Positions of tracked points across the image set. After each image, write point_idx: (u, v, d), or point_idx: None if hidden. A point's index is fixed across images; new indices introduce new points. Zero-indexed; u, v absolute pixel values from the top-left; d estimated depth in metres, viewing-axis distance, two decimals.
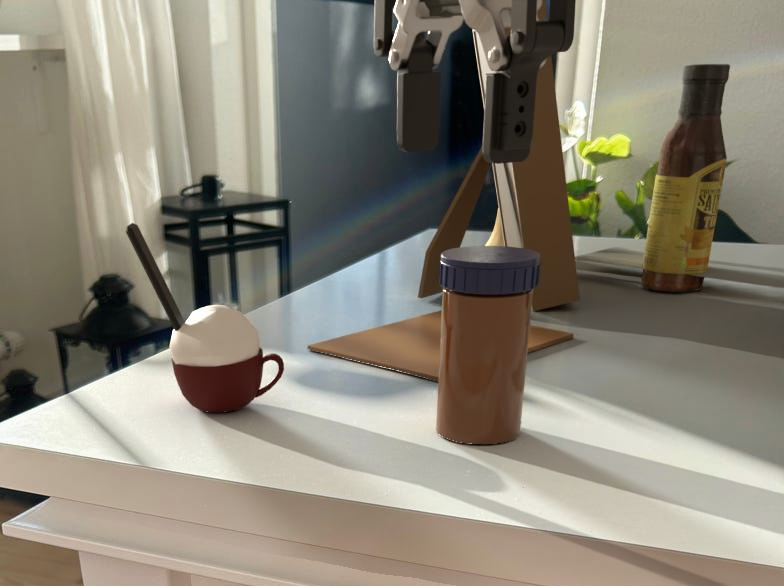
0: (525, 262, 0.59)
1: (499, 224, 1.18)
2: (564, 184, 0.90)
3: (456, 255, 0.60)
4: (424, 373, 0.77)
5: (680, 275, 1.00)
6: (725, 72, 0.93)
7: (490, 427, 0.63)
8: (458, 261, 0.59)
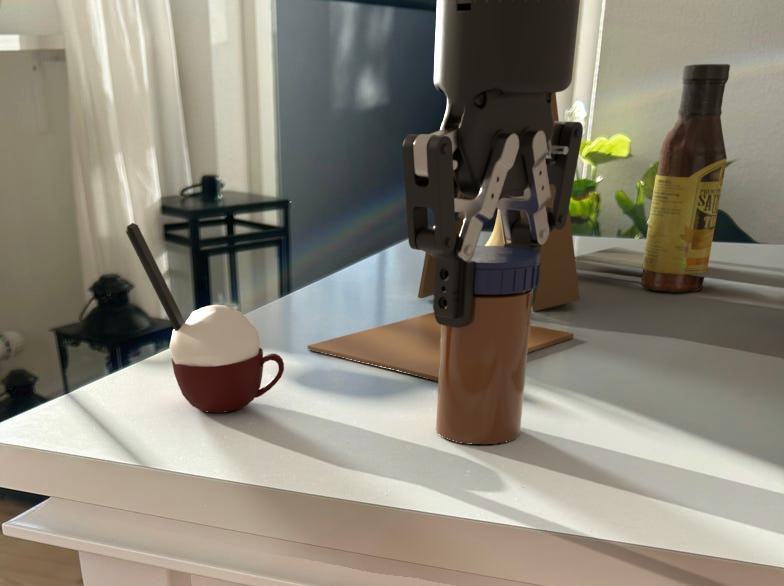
0: (525, 262, 0.59)
1: (499, 224, 1.18)
2: None
3: None
4: (424, 373, 0.77)
5: (680, 275, 1.00)
6: (725, 72, 0.93)
7: (490, 427, 0.63)
8: None
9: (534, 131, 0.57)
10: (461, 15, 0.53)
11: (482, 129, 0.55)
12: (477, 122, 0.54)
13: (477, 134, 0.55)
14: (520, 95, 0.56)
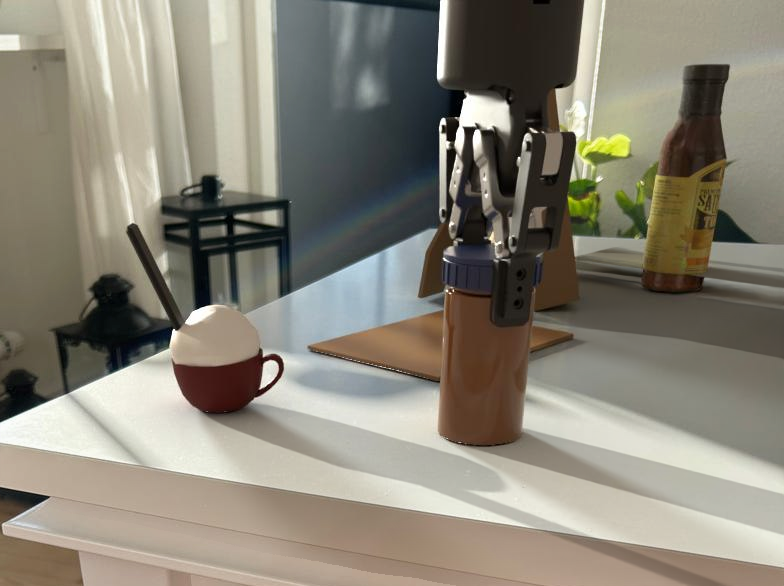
0: None
1: None
2: None
3: (485, 257, 0.59)
4: (424, 373, 0.77)
5: (680, 275, 1.00)
6: (725, 72, 0.93)
7: (492, 428, 0.63)
8: None
9: None
10: (539, 8, 0.51)
11: None
12: None
13: None
14: None
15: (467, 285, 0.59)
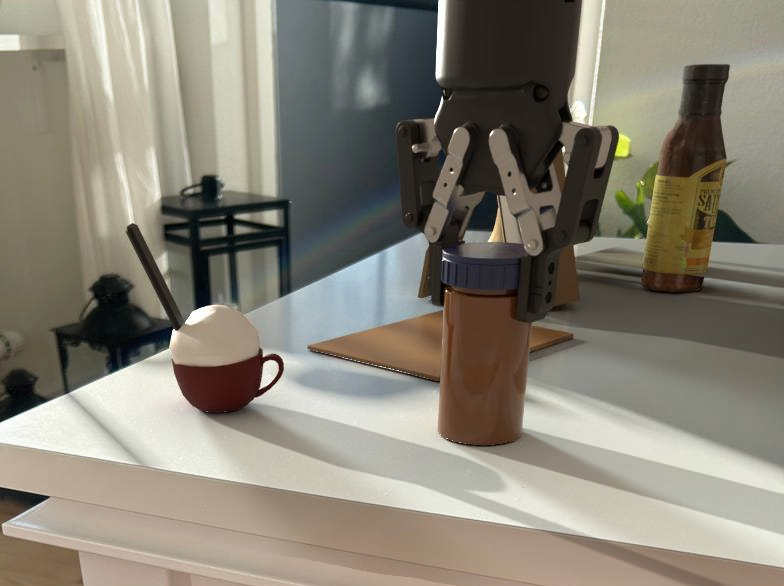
0: None
1: (499, 224, 1.18)
2: None
3: (504, 255, 0.59)
4: (424, 373, 0.77)
5: (680, 275, 1.00)
6: (725, 72, 0.93)
7: (492, 427, 0.63)
8: None
9: None
10: (568, 7, 0.52)
11: None
12: None
13: None
14: None
15: (493, 285, 0.59)
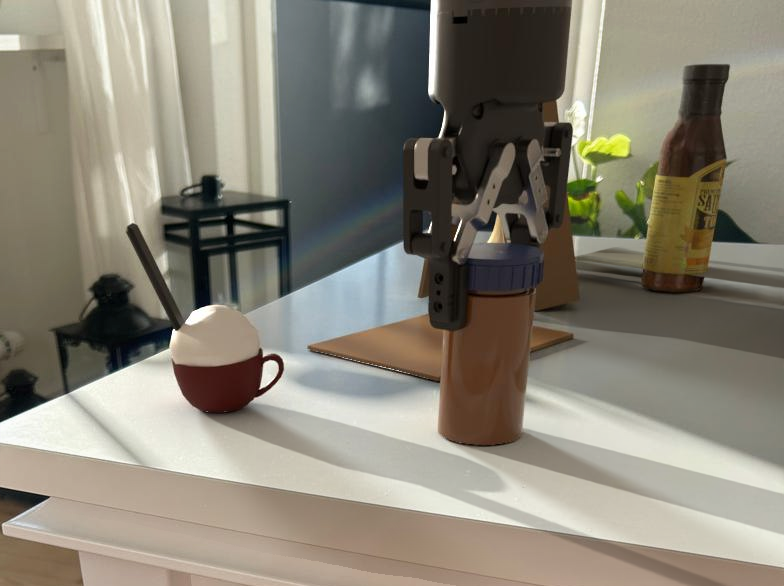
0: None
1: (499, 224, 1.18)
2: None
3: (491, 256, 0.59)
4: (424, 373, 0.77)
5: (680, 275, 1.00)
6: (725, 72, 0.93)
7: (493, 427, 0.63)
8: (519, 259, 0.58)
9: (528, 140, 0.58)
10: (457, 28, 0.53)
11: (480, 139, 0.56)
12: (475, 132, 0.55)
13: (475, 144, 0.56)
14: (515, 105, 0.57)
15: (475, 285, 0.59)
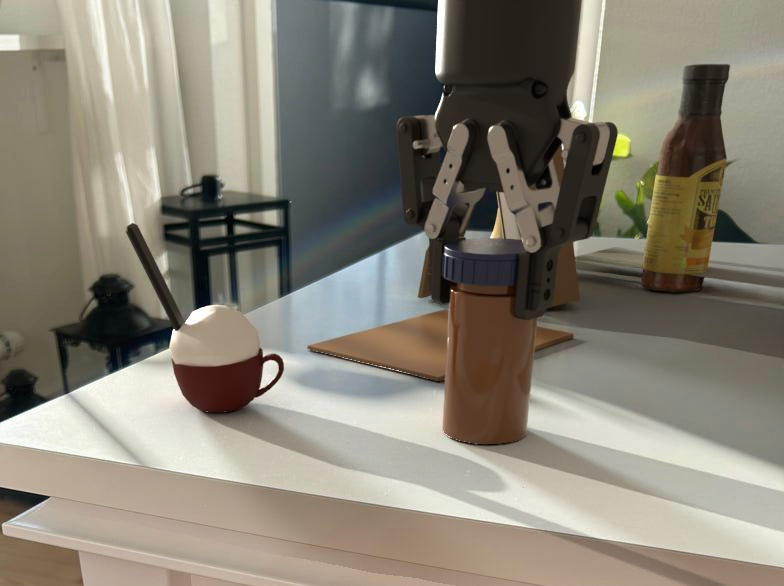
0: None
1: (499, 224, 1.18)
2: None
3: None
4: (424, 373, 0.77)
5: (680, 275, 1.00)
6: (725, 72, 0.93)
7: (523, 421, 0.64)
8: None
9: None
10: (567, 3, 0.52)
11: None
12: None
13: None
14: None
15: None
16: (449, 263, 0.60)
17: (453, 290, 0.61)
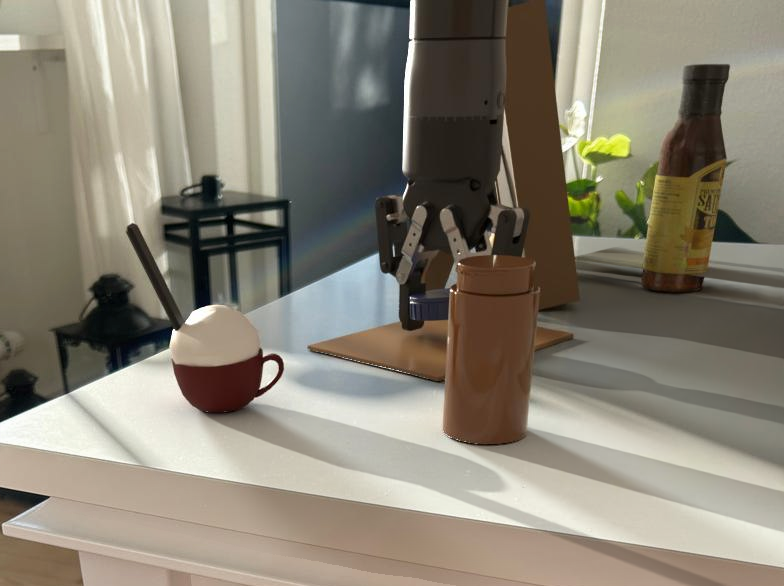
0: (410, 298, 0.84)
1: None
2: (564, 184, 0.90)
3: (449, 289, 0.86)
4: (424, 373, 0.77)
5: (680, 275, 1.00)
6: (725, 72, 0.93)
7: (523, 421, 0.64)
8: (432, 290, 0.86)
9: None
10: (492, 127, 0.75)
11: None
12: None
13: None
14: None
15: None
16: None
17: (453, 290, 0.61)
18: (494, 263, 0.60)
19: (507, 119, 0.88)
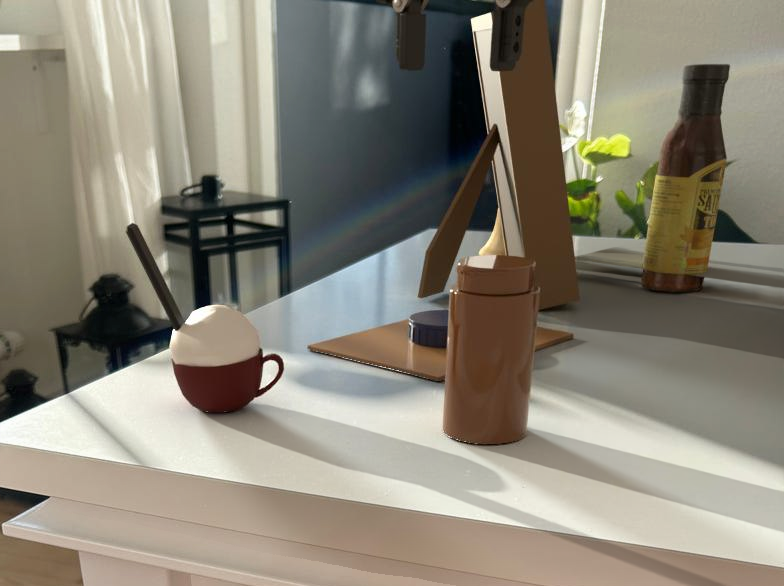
0: (410, 320, 0.85)
1: (499, 224, 1.18)
2: (564, 184, 0.90)
3: None
4: (424, 373, 0.77)
5: (680, 275, 1.00)
6: (725, 72, 0.93)
7: (523, 421, 0.64)
8: (431, 311, 0.87)
9: None
10: None
11: None
12: None
13: None
14: None
15: None
16: None
17: (453, 290, 0.61)
18: (494, 263, 0.60)
19: (507, 119, 0.88)
